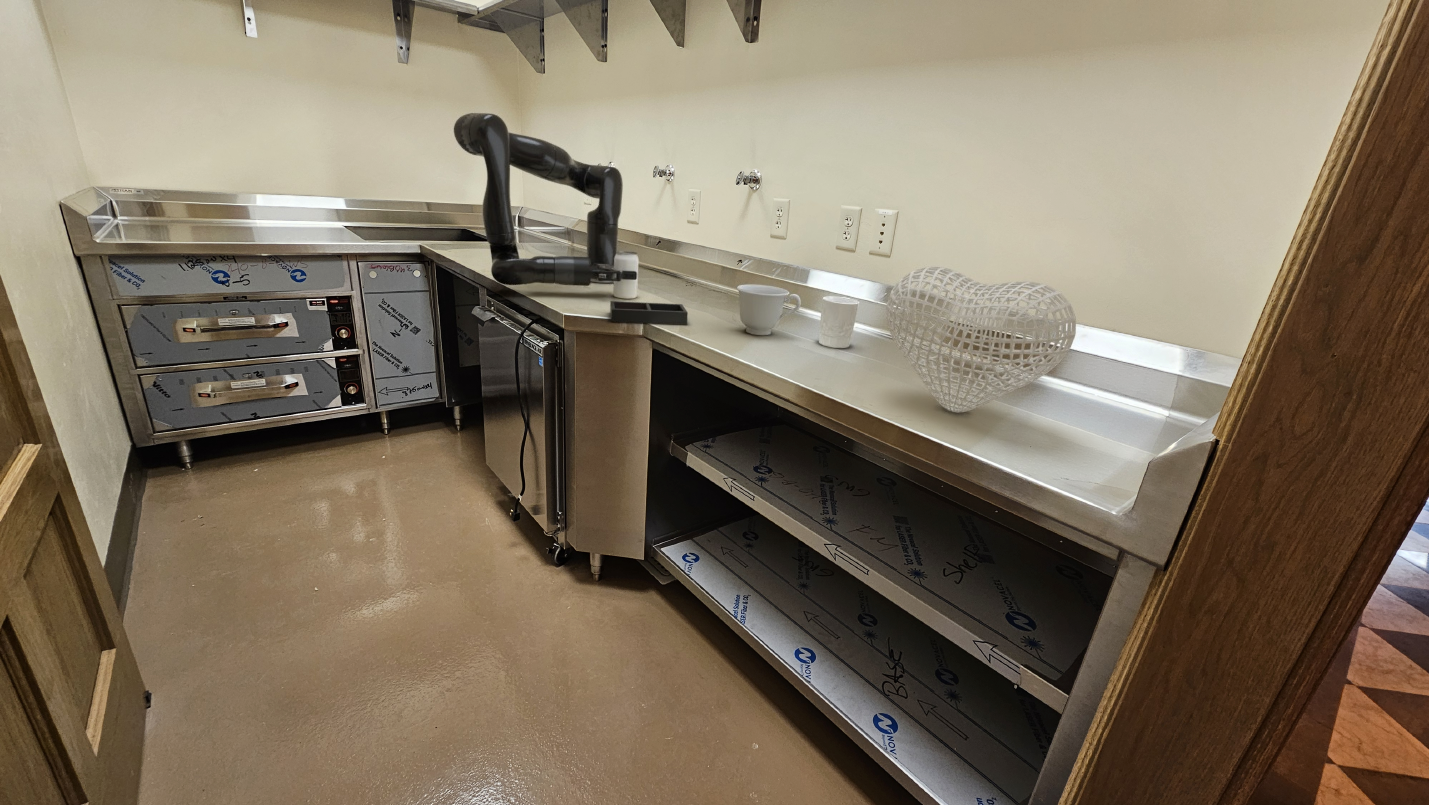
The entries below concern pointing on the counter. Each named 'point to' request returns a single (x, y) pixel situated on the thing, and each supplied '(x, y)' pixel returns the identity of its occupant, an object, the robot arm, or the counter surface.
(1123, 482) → the counter surface
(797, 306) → the teacup
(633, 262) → the can
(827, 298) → the white cup
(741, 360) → the counter surface
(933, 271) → the heart
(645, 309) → the tray
